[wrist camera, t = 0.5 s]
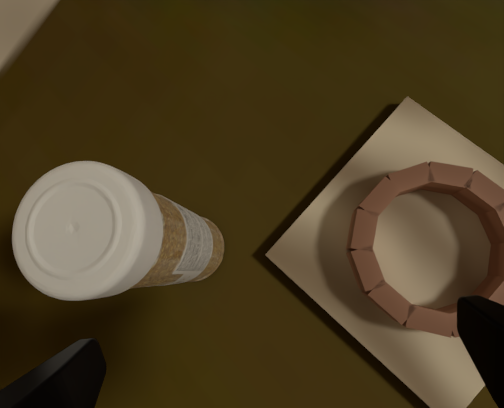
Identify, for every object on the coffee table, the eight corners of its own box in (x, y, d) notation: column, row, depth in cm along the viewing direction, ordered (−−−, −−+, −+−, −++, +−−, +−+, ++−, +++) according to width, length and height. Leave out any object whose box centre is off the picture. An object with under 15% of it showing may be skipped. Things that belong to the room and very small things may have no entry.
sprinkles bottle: (154, 272, 24) (-17, 280, 11) (172, 208, 25) (32, 144, 12) (217, 289, 23) (115, 321, 10) (234, 223, 24) (159, 173, 11)
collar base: (443, 418, 20) (467, 443, 17) (266, 255, 23) (261, 253, 20) (593, 240, 21) (641, 236, 18) (402, 103, 24) (417, 80, 21)
